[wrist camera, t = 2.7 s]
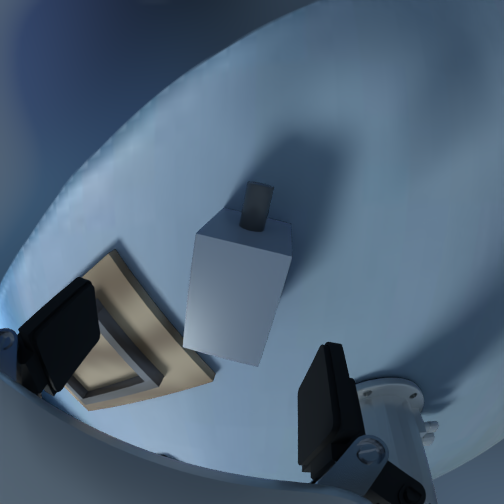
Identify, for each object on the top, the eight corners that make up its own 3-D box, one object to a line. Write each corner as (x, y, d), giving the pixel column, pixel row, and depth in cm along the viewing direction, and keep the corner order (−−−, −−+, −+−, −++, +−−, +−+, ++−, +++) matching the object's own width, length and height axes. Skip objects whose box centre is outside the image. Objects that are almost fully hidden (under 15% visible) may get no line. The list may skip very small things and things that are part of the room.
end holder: (215, 373, 23) (209, 393, 21) (91, 406, 30) (84, 417, 28) (115, 249, 20) (97, 260, 18) (27, 333, 27) (17, 342, 25)
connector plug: (299, 187, 17) (306, 205, 12) (262, 324, 21) (253, 379, 15) (230, 171, 17) (203, 182, 12) (206, 310, 21) (181, 360, 16)
